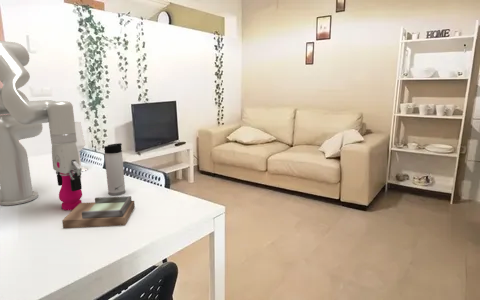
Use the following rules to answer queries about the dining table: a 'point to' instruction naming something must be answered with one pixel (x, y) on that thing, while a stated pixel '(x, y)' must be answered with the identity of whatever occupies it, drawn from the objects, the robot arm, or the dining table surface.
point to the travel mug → (114, 169)
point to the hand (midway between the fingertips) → (69, 187)
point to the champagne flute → (79, 141)
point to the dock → (100, 213)
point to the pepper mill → (68, 193)
